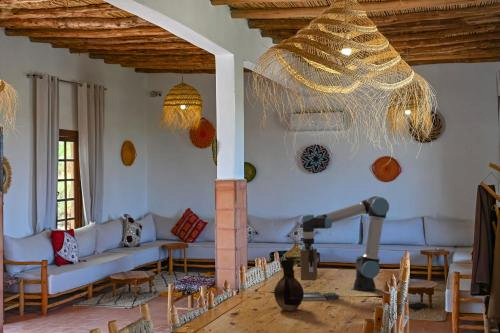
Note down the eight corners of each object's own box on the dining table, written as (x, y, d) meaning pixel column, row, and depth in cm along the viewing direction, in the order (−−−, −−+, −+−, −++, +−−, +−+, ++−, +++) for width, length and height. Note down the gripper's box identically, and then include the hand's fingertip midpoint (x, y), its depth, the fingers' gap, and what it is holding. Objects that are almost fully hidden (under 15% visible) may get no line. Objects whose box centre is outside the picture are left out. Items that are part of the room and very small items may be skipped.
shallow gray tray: (320, 295, 452) (320, 292, 452) (325, 300, 438) (325, 296, 438) (296, 296, 450) (296, 292, 450) (301, 300, 436) (301, 296, 436)
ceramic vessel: (301, 314, 396) (302, 262, 396) (271, 313, 399) (271, 261, 399) (305, 306, 417) (305, 257, 417) (276, 305, 420) (276, 256, 420)
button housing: (335, 296, 449) (335, 293, 449) (338, 299, 441) (338, 295, 441) (323, 296, 448) (323, 293, 448) (326, 299, 440) (326, 295, 440)
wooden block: (315, 280, 455) (315, 250, 455) (300, 280, 457) (300, 250, 457) (317, 278, 465) (316, 248, 465) (302, 277, 467) (302, 248, 466)
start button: (333, 296, 447) (333, 292, 447) (334, 297, 443) (334, 293, 443) (327, 296, 446) (327, 292, 446) (328, 297, 442) (328, 293, 442)
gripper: (299, 236, 472) (299, 267, 472) (306, 240, 448) (307, 273, 448) (309, 235, 473) (310, 267, 473) (318, 239, 449) (318, 273, 449)
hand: (309, 270), depth 461 cm, fingers closed on wooden block, 12 cm apart
